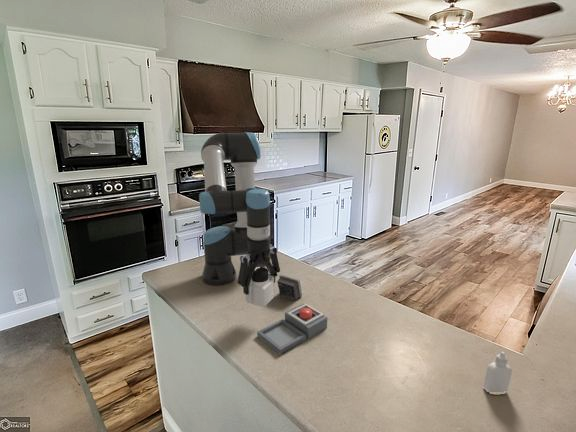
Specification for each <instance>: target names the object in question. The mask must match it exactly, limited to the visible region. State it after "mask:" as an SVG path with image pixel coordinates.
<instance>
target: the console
mask: <svg viewBox="0 0 576 432" xmlns="http://www.w3.org/2000/svg"><path fill="white" fill-rule="evenodd" d="M302 308H309V309H311V310H312V318H311V319H309V320H307V321H305V320H303V319H301V318H300V317H299V311H300V309H302ZM326 329H328V317H327V316H326V315H325V314H324V313H323V312H321V311H319V310H317V309H316V308H314V307H313V306H311V305H309V304H307V303H302V304H299V305H296V306H295V307H293V308H291V309H289V310H287V311H285V312H284V318H281V319H280V320H278V321H276V322H273V323H271V324H269V325H268V326H266V327H263V328H261V329H260V330H258V331H257V332H256V335H257V336H256V337H257V338H259V340H261V341H262V342H264V343H265V344H266V345H268V346H269V347H270V348H271V349H273V350H274V351H275V352H276V353H277V354H279V355H280V356H282V355H283V354H285V353H286V352H288V351H290V350H291V349H293V348H295V347H297V346H298V345H300V344H302V343H303V342H305V341H307V339H310V338H312V337H314V336H315V335H317V334H319V333H320V332H322V331H324V330H326Z"/></svg>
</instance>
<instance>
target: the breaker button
mask: <svg viewBox="0 0 576 432" xmlns="http://www.w3.org/2000/svg"><path fill="white" fill-rule="evenodd" d="M299 317H300V318H301V319H303V320H305V321H307V320H309V319H311V318H312V310H311V309H309V308H302V309H300V311H299Z"/></svg>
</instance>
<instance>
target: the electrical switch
mask: <svg viewBox="0 0 576 432" xmlns="http://www.w3.org/2000/svg"><path fill="white" fill-rule="evenodd" d="M278 276H279V277H278V278H279V279H278V280H277V281H276V284H277V286H278V287H277V288H278V291H279V296H282V297H284V298H287V299H291V300H294V301H297V300H298V299H299V298H300V299H301V298H302V297H303V293H302V285H301V282H300V281H301V280H300V279H298V278H296V277H293V276H290V275H289V276H288V275H286V274H283V273H281V274H279V275H278Z"/></svg>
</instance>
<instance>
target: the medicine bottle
mask: <svg viewBox="0 0 576 432" xmlns="http://www.w3.org/2000/svg"><path fill="white" fill-rule="evenodd" d="M269 274H270V273H269V271H268V269H267V267H264V266H263V267H261V266H259V267H258V266H257V267H256V268H255V271H254V273H253V276H252V279H251V282H250V285H251V289H252V303H249V302H247V301H246V303H247V304H250V305H255V306H256V307H257V306H258V307H260V308H266V306H267V305H268V304H269V303H270V302H271V301H272V300H273V299H274V295H275V283H273V280H270V279H269Z"/></svg>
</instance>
